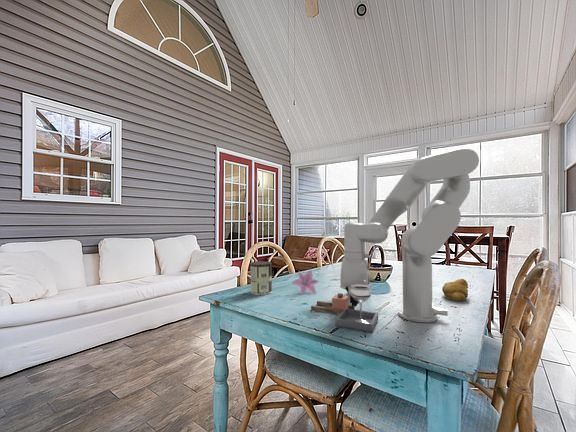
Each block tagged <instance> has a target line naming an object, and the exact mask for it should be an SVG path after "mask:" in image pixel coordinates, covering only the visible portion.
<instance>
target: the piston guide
mask: <svg viewBox="0 0 576 432" xmlns="http://www.w3.org/2000/svg"><path fill="white" fill-rule="evenodd" d="M355 308H356V307H355V306H352V304H349V309H353V310H356V309H355ZM310 310H311V313H312V314H314V313H315V312H321V313H322V312H323V313H327V314H335V315H340V314H341V312H342V311H343V310H342V309H334V308H332V301H331V302H330V301H323V300H317V301H316V305H311V306H310Z"/></svg>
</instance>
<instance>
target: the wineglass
mask: <svg viewBox="0 0 576 432" xmlns="http://www.w3.org/2000/svg"><path fill="white" fill-rule="evenodd" d="M350 286H351V290H350V293H351V296H352V297H353V298H354V299H355V300H356V301H358V302H359V310H360V319H356V320H354V321H358V322H364V323H369V322H368V321H366V320H363V319H361V318H362V311H363V304H364V302H367V301H368V300H369V299H370V298H371V296H372V291H371V287H372V286H371V285H370V284H369V285H367V284H352V285H350Z"/></svg>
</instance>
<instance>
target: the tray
mask: <svg viewBox="0 0 576 432" xmlns="http://www.w3.org/2000/svg"><path fill="white" fill-rule="evenodd" d="M356 319H360V309H354V310H353V309H344V310H343V311H342V312H341V314H338V316H337V317H336V318H335V326H336V328H339V329H346V330H352V331H358V332H366V333H372V334H373V333H374V331H375V329H376V326H377V324H378V322H379V312H374V311H365V310H362V318H361V319H363V320H366V321H368V322H369V323H364V322H358V321H354V320H356Z"/></svg>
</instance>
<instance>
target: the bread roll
mask: <svg viewBox="0 0 576 432" xmlns="http://www.w3.org/2000/svg"><path fill="white" fill-rule="evenodd" d="M468 286H469V284H468V281H467V280H466V279H464V278H459V279H457V280H454V281H449V282H445V283H444V285H443V286H442V289H441V290H442V293H443V296H444V297H445V298H446V299H450V300H452V301H456V302H464V301H465V300H466V299H467V298H468V297H469V291H468Z"/></svg>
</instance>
